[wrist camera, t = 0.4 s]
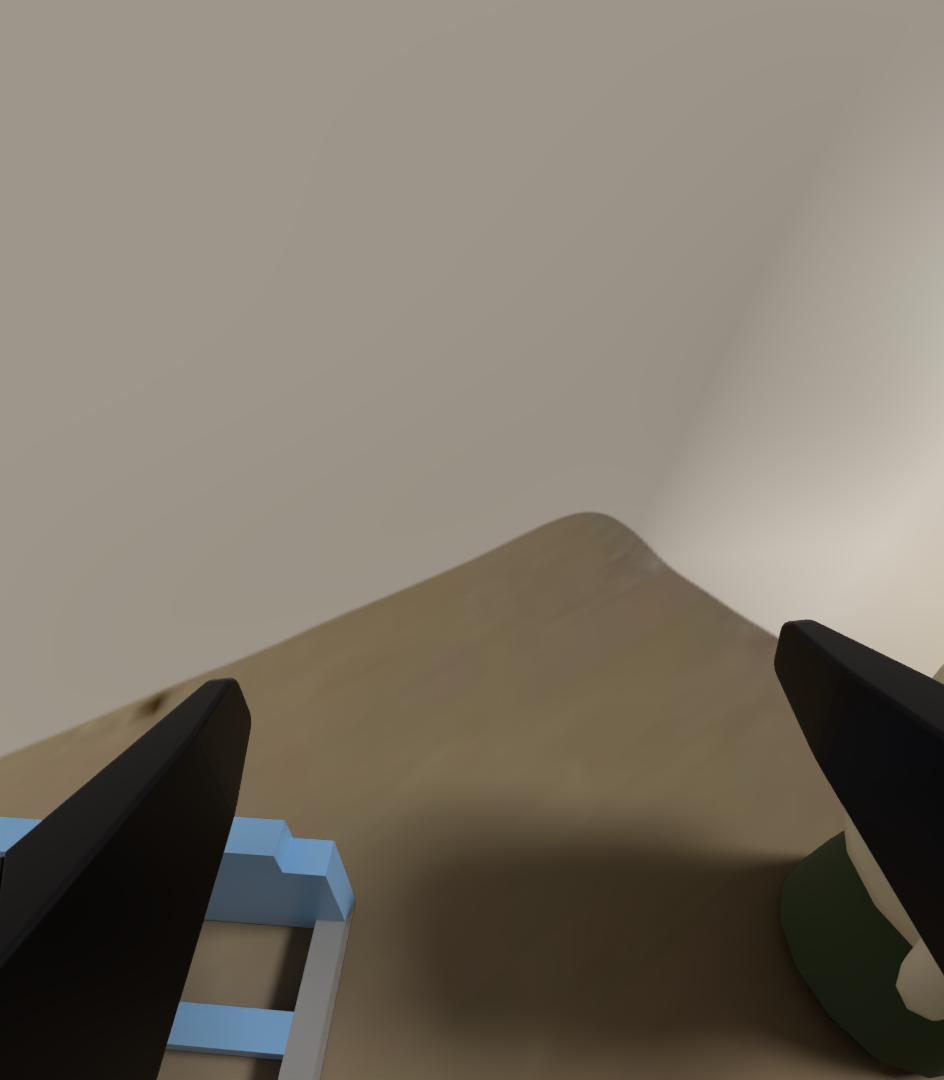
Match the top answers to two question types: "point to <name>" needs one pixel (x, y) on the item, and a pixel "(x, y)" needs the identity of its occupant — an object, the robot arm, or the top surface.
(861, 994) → the character mug
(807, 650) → the robot arm
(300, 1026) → the blue grey rack
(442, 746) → the top surface
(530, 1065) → the top surface
